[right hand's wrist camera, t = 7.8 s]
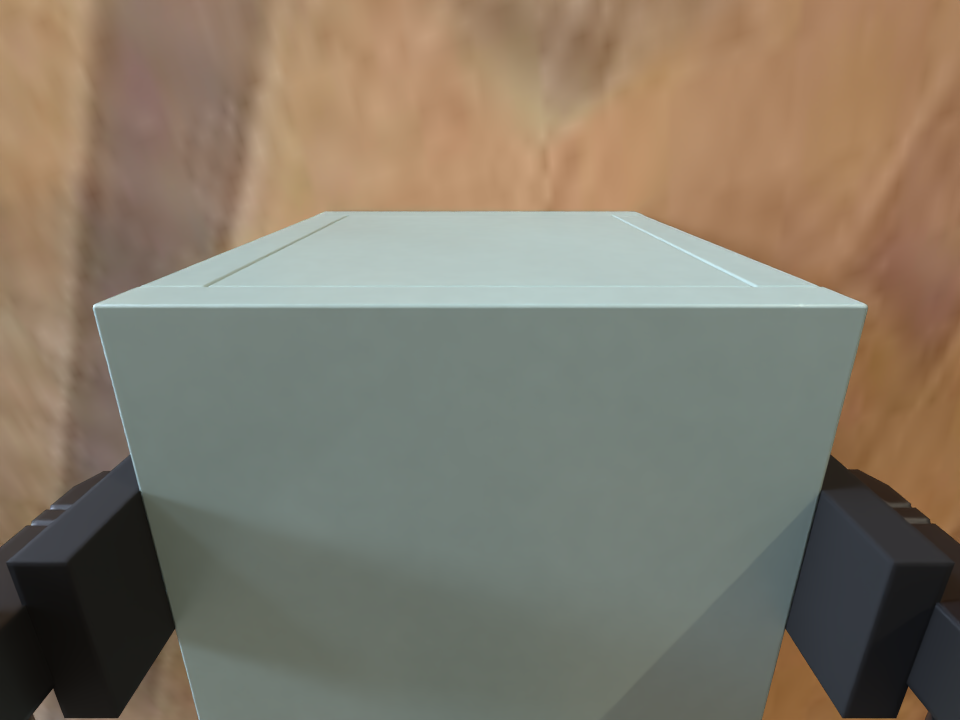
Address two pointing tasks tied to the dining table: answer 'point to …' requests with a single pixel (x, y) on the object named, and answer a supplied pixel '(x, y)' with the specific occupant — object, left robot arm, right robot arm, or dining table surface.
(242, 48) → the dining table surface
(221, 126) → the dining table surface
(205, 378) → the cabinet
